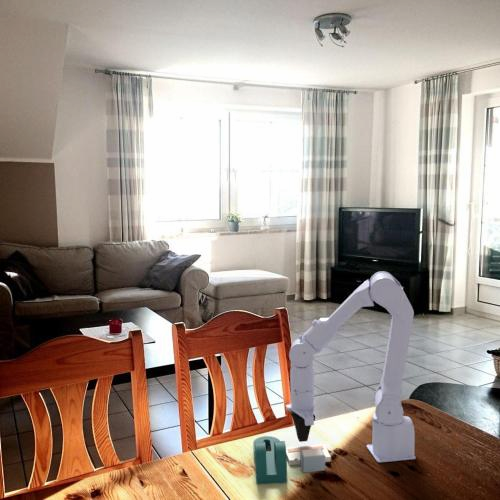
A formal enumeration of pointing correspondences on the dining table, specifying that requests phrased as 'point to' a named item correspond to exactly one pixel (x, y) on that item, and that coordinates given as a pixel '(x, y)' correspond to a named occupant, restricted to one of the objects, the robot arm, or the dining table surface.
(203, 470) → the dining table surface
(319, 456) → the stub
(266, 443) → the bracket
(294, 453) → the spiral notebook
